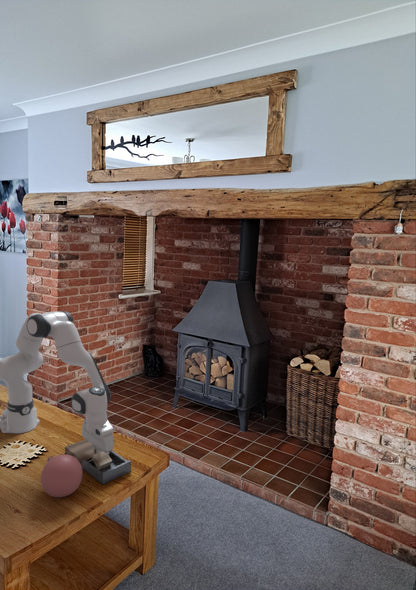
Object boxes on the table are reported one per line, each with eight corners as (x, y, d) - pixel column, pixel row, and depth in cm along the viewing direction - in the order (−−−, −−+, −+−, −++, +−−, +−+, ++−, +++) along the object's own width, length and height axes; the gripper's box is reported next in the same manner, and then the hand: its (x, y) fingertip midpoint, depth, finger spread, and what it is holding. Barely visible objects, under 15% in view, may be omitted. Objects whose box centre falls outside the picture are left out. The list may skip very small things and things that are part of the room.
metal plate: (65, 452, 197) (65, 446, 196) (88, 443, 205) (88, 438, 205) (83, 467, 186) (83, 460, 186) (107, 457, 195) (107, 451, 194)
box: (82, 468, 185) (82, 458, 184) (109, 456, 195) (109, 446, 194) (103, 485, 174) (103, 473, 173) (130, 471, 184) (131, 461, 184)
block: (91, 459, 186) (93, 454, 185) (103, 454, 191) (105, 449, 189) (98, 470, 183) (100, 465, 182) (110, 464, 188) (112, 460, 186)
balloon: (71, 472, 182) (71, 438, 180) (88, 497, 166) (88, 460, 164) (33, 483, 173) (32, 448, 171) (47, 511, 157) (46, 473, 155)
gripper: (77, 418, 192) (78, 446, 194) (103, 435, 178) (103, 465, 180) (90, 414, 196) (90, 442, 198) (116, 430, 182) (116, 460, 185)
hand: (96, 453), depth 189 cm, fingers closed
